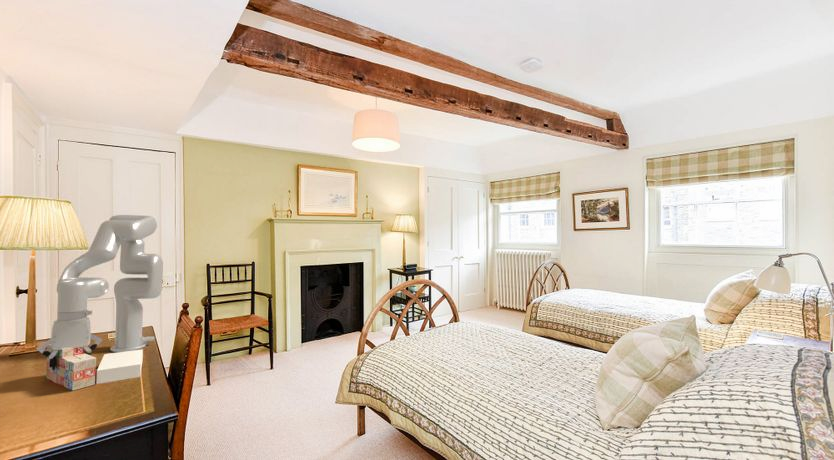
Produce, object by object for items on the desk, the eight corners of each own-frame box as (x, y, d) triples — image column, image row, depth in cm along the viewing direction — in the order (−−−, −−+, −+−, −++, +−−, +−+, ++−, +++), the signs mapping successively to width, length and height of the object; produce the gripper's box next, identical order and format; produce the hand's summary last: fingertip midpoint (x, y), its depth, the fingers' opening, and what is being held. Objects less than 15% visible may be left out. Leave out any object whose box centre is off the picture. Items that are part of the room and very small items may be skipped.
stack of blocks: (95, 384, 124) (97, 348, 125) (71, 391, 119) (73, 353, 119) (68, 372, 134) (69, 339, 135) (45, 378, 129) (46, 343, 129)
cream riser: (142, 361, 148) (142, 349, 148) (140, 377, 132) (140, 364, 132) (103, 367, 141) (104, 354, 141) (96, 385, 125) (96, 370, 125)
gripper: (104, 310, 136) (102, 358, 136) (36, 317, 124) (34, 369, 124) (105, 314, 131) (103, 363, 130) (35, 321, 118) (33, 375, 118)
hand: (70, 365), depth 127 cm, fingers closed on stack of blocks, 7 cm apart
